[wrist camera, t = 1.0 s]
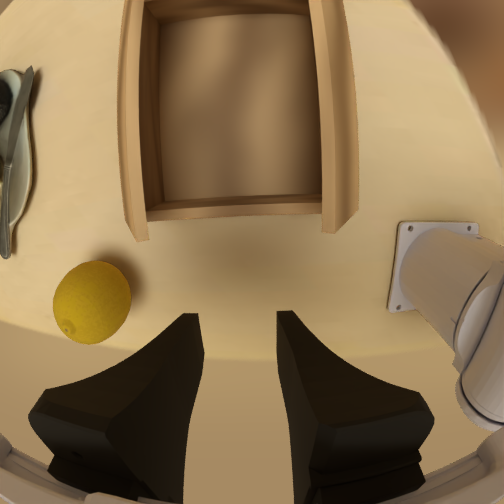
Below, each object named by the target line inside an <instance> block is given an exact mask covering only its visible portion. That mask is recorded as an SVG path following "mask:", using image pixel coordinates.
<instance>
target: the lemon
mask: <svg viewBox="0 0 504 504" xmlns="http://www.w3.org/2000/svg"><path fill="white" fill-rule="evenodd" d="M130 306H131V292H130V287H129V284H128V282H127V280H126V278H125V277H124V275H123V274H122V273H121V272H120V271H119V270H118V269H117V268H116V267H114V266H113V265H111V264H109V263H106V262H103V261H90V262H85V263H82V264H80V265H78V266H77V267H75V268H73V269H72V270H71V271H69V272H68V273H67V274H66V276H65V277H64V278H63V280H62V281H61V282H60V284H59V285H58V287H57V289H56V292H55V295H54V298H53V312H54V317H55V320H56V322H57V324H58V326H59V328H60V329H61V331H62V332H63V333H64V334H65V335H66V336H67V337H69V338H70V339H72V340H73V341H75V342H78V343H81V344H88V345H90V344H97V343H100V342H102V341H104V340H106V339H107V338H109V337H111V336H112V335H113V334H115V333H116V332H117V330H118V329H119V328H120V327H121V326H122V324H123V323H124V322H125V320H126V318H127V315H128V312H129V310H130Z"/></svg>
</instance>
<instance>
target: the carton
mask: <svg viewBox="0 0 504 504" xmlns="http://www.w3.org/2000/svg"><path fill="white" fill-rule="evenodd" d="M139 137H140V156H141V170H142V182H143V193H144V203H145V212H146V220H147V222H150V221H163V220H178V219H193V218H211V217H230V216H252V215H279V214H319V213H322V148H321V123H320V105H319V90H318V77H317V66H316V55H315V46H314V37H313V29H312V21H311V14H310V7H309V0H144V5H143V14H142V25H141V38H140V55H139Z"/></svg>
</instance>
